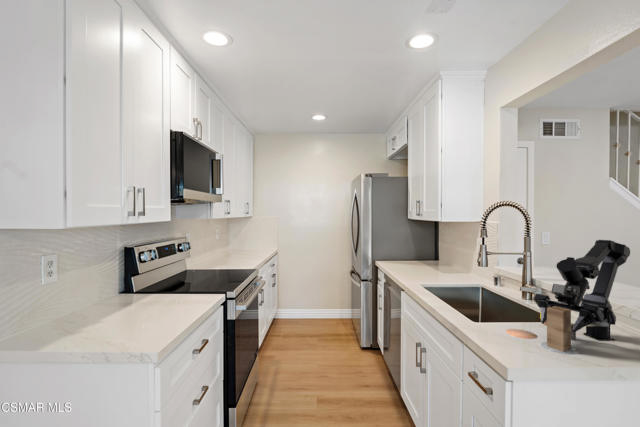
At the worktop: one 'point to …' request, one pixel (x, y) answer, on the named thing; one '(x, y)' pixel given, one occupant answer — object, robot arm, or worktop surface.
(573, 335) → the balance
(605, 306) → the robot arm
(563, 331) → the walnut block
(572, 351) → the slate dish
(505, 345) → the worktop surface
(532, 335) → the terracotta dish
